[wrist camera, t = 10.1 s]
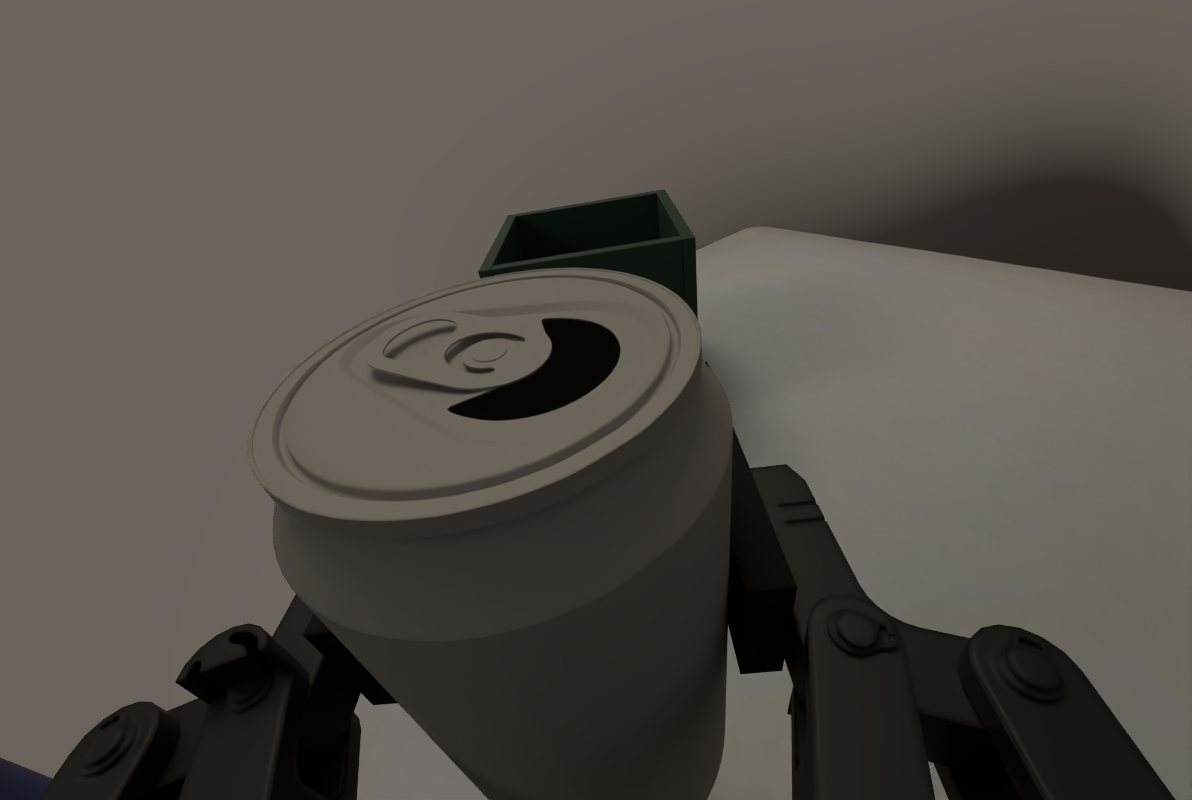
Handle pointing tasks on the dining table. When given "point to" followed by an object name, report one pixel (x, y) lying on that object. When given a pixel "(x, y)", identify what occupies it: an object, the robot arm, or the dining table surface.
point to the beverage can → (521, 526)
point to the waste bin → (602, 241)
